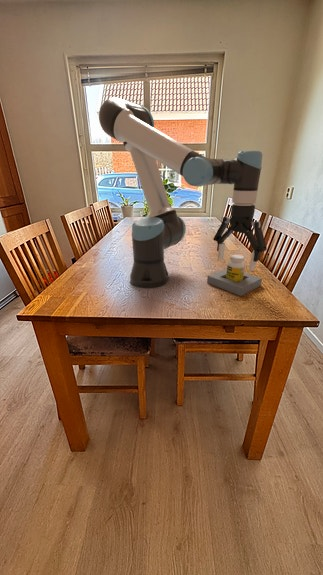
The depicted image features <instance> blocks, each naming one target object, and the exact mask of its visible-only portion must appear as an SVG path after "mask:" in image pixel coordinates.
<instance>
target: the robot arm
mask: <svg viewBox="0 0 323 575" xmlns="http://www.w3.org/2000/svg"><path fill="white" fill-rule="evenodd" d="M98 120H99V124H100V127H101V130H102V131H103V132H104V133H105V134H106V135H108V136H109V137H111V138H112V139H114V140H116V141H117V142H119V143H123V147H124V150H126V151H127V152H129V153H130V155H131V158H132V162H133V164H134V167H135V171H136V174H137V176H138V179H139V183H140V185H141V189H142V191H143V196H144V198H145V202H146V204H147V207H148V210H149V213H150V214H149V216H148V217H145V218H140V219H137V220H135V221H134V222H133V223H132V225H131V239H132V240H131V241H132V256H133V264H132V268H131V272H130V275H129V278H130V279H129V280H130V283H131V284H132V285H133V286H136V287H139V288H145V289H146V288H147V289H149V288H157V287H161V286H165V285H167V283H168V282H169V272H168V269H167V266H166V264H165V250H166V249H168V248H170V247H172V246H175V245H177V244H178V243H180V242H181V241H182V240H184V239H183V238H184V237H185V235H186V231H187V230H186V229H187V227H186V223H185V222H184V219H183V218H181V217H180V216H179V215H178V213H177V210H176V208H174V207H172V206H171V204H170V200H169V197H168V195H167V194H168V193H167V191H166V188H165V185H164V181H163V179H162V174H161V172H160V169H159V168H160V167H159V166H158V165H159V164H158V163H160V164H162V165H163V166H165V167H167V168H169V169H170V170H171V171H173V172H174V173H176V174H178V175H180V176H182V177H183V180H184V181H185V182H186V184H188V185H190V186H192V187H197V188H199V187H203V186H209V185H233V191H232V197H231V198H232V199H231V203H233V204H232V205H231V207H230V216H229V215H227V216H224V217H222V220H221V224H220V226H219V228H218V229H217V231H216V233H215V235H214V237H213V239H212V240H213V241H215V242H216V243H217V246H216V251H217V252H218V253H217V261H219V262H220V261H223V260H224V257H225V250H226V249H225V248H226V240H227V238H229V237H230V235H232V234H233V233H234V232H235V233H239V234H243V235H244V236H245V237H246V238H247V240H248V243H249V244H250V246H251V248H252V250H253V251H252V252H251V255H250V262H249V267H248V271H253V270H256V267H257V262H259V261H260V256H261V253H263V252H266V251H267V249H268V248H267V244H266V240H265V236H264V232H263V229H262V227H263V224H262V223H263V222H262V221H261V220H258V221H254V219H253V218H254V216H255V210H256V205H255V204H256V203H257V197H258V191H259V190H258V189H259V182H260V177H261V171H262V162H263V161H262V160H263V152H261V151H260V150H243V151H242V150H241V151H238V153H237V156H236V158H211V157H206V156H205V155H202V154H200V153H199V152H196V151H195V150H194V149H192V148H189V147H188V146H186V145H184V144H183V143H181V142H179V141H178V140H176V139H174V138H172V137H171V136H170V135H169V136H168V135H167V134H165V133H163V132H162V131H160V130H158V129H157V128H155V122H154V118H153V115H152V113H151V112H150V110H149V109H148V108H146V107H145V106H143V105H142V104H139V103H136V102H131V101H129V100H125V99H122V98H119V97H109V98H108V99H106V100H105V101H103V103H102V104H101V106H100V108H99V112H98ZM157 162H158V163H157ZM229 224H230V226H229ZM228 226H229V227H228ZM227 227H228V228H227ZM252 228H253V229H252ZM226 229H227V230H226Z"/></svg>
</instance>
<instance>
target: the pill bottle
mask: <svg viewBox="0 0 323 575" xmlns="http://www.w3.org/2000/svg"><path fill="white" fill-rule="evenodd" d="M229 260H230V261H228V262H227V267H226V268H227V273H226V279H228V280H231V281H234V282H237V283H238V282H240V281H242V280H243V275H244V273H245V268H246V267H245V266H246V265H245V262H244V260H245V256H243V255H242V254H231V255H230V257H229Z"/></svg>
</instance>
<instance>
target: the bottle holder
mask: <svg viewBox="0 0 323 575" xmlns="http://www.w3.org/2000/svg"><path fill="white" fill-rule="evenodd" d="M226 273H227V267H226V268H224V269H221V270H219V271H216V272H213V273H211V274H209V275H207V279H206V280H207V281H206V282H207V284H209V285H212V286H215V287H217V288H219V289H222V290H224V291H227V292H230V293H231V294H235V295H237V296H240V297H242V296H243V295H244V296H245V295H246V294H247V293H250V292H251V291H253V290H255V289H257V288H259V287H261V286H262V281H263V278H262V277H259V276H256V275H253V274H250V273H247V272H244V275H243V280H242V281H240V282H238V283H237V282H234V281H231V280H228V279H226Z"/></svg>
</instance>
